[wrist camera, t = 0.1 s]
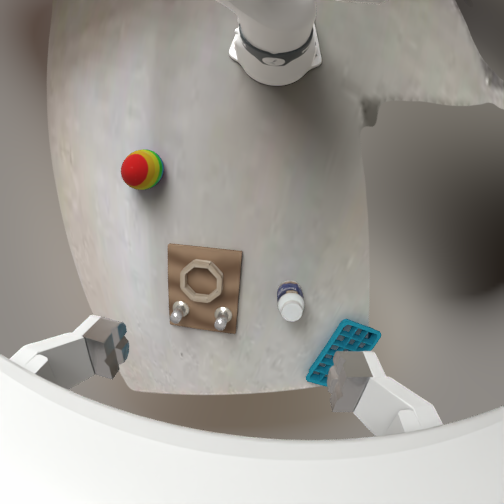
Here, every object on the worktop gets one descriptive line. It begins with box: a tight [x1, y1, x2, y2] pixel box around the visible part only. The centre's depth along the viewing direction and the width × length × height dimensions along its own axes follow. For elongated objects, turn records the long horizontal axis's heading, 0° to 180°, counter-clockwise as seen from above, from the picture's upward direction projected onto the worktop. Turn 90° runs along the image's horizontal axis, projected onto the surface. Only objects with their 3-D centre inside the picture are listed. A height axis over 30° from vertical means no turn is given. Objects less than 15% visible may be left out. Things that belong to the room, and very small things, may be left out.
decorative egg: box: [121, 150, 164, 190], centre depth 50 cm, size 8×8×10 cm
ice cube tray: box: [306, 319, 381, 386], centre depth 64 cm, size 12×20×3 cm, turn 157°
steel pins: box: [170, 301, 232, 331], centre depth 60 cm, size 4×14×5 cm, turn 85°
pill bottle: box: [277, 281, 304, 322], centre depth 57 cm, size 5×5×10 cm
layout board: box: [168, 244, 242, 334], centre depth 61 cm, size 20×16×3 cm
